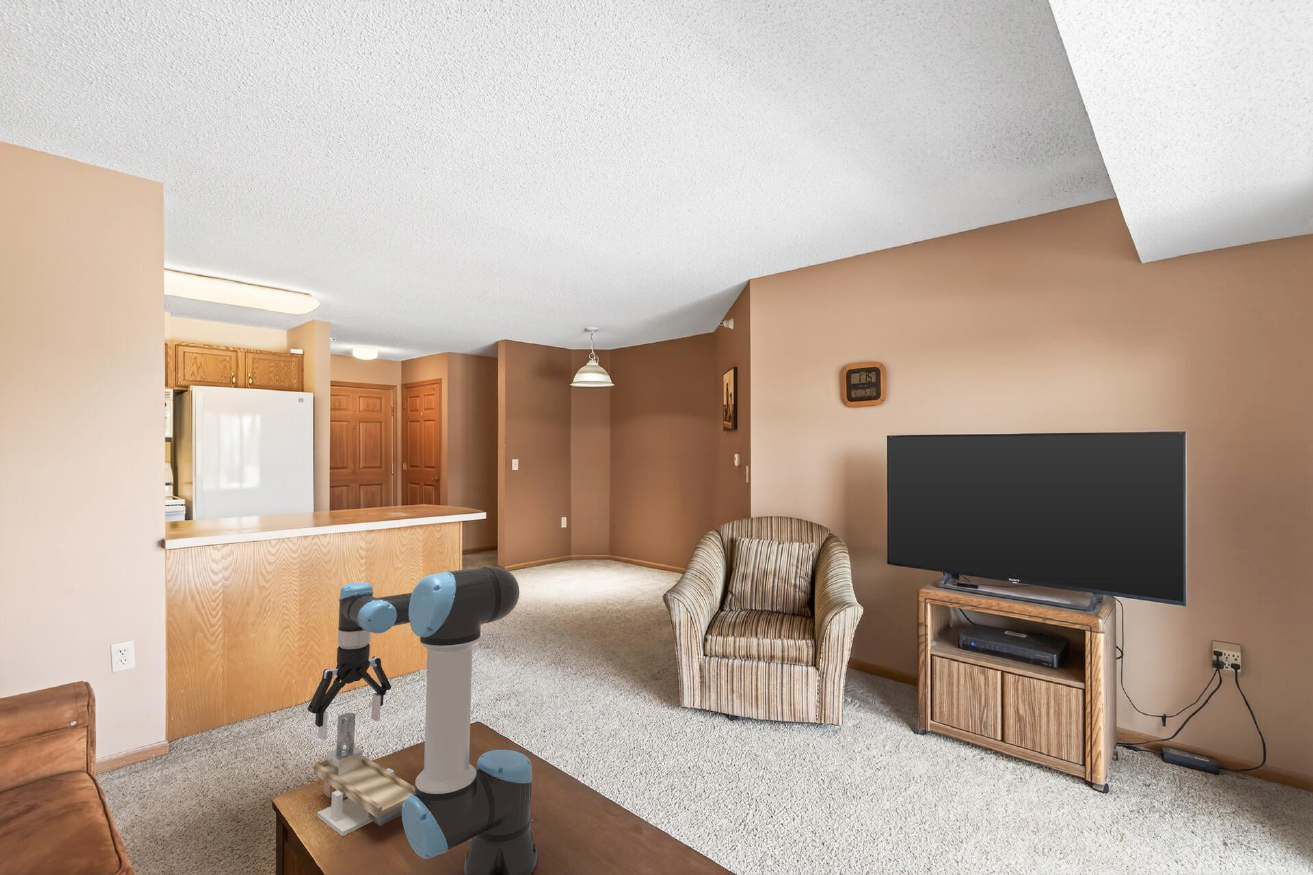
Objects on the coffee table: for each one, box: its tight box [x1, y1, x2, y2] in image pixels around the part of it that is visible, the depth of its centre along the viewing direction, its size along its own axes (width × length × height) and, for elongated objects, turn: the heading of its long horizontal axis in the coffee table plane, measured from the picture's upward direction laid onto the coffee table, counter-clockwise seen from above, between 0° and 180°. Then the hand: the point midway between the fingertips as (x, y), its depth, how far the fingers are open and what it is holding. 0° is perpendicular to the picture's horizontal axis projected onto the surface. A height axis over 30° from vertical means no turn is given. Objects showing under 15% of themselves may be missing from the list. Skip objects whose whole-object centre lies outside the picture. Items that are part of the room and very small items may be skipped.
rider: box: [326, 712, 364, 776], centre depth 153 cm, size 6×6×13 cm
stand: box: [317, 767, 395, 837], centre depth 149 cm, size 20×16×7 cm
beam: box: [313, 754, 415, 827], centre depth 147 cm, size 30×11×5 cm, turn 54°
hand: (349, 728), depth 152 cm, fingers open, 13 cm apart
